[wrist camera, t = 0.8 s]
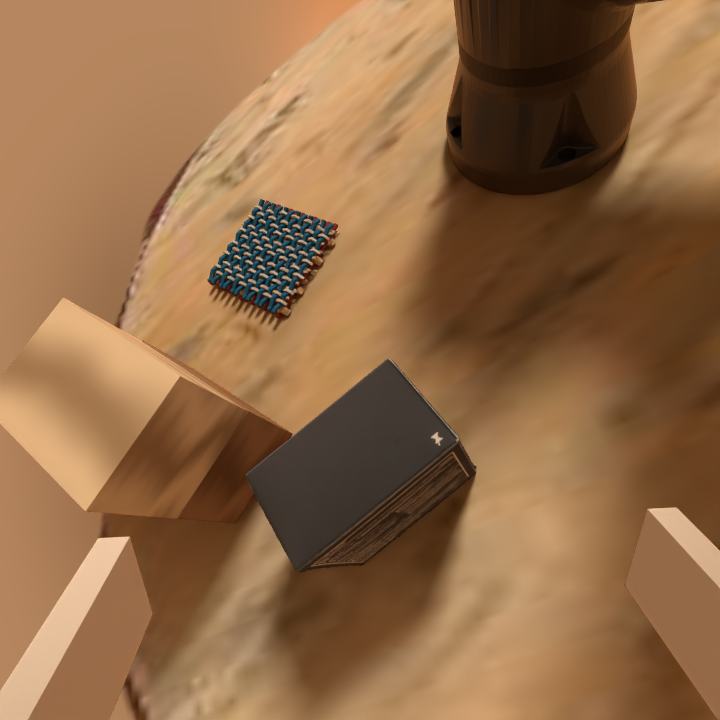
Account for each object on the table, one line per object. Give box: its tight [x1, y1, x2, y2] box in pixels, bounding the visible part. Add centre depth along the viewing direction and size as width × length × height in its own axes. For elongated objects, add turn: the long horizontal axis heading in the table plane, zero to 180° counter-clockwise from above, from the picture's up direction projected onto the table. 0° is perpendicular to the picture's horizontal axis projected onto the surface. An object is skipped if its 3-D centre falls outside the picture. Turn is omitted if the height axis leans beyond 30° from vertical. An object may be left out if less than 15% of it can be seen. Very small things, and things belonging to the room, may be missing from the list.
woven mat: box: [208, 199, 340, 319], centre depth 43 cm, size 10×11×2 cm
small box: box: [246, 359, 476, 572], centre depth 28 cm, size 11×6×10 cm, turn 126°
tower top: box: [0, 298, 248, 519], centre depth 29 cm, size 8×12×7 cm, turn 57°
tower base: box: [142, 341, 292, 523], centre depth 35 cm, size 8×12×7 cm, turn 57°
